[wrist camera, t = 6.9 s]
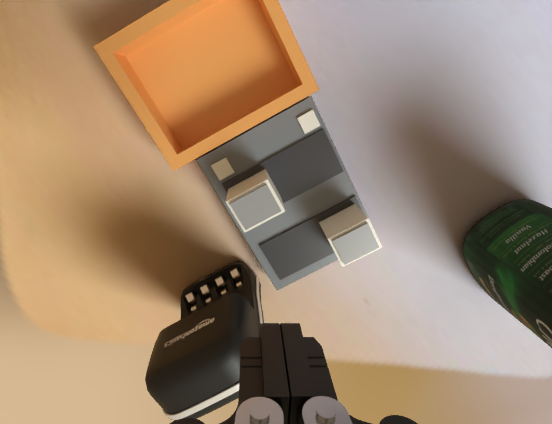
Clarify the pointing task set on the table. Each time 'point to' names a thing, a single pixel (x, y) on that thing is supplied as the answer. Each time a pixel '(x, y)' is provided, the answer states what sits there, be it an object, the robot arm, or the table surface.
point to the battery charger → (206, 344)
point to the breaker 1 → (254, 201)
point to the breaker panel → (287, 188)
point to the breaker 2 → (350, 234)
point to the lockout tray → (207, 71)
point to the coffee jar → (516, 262)
